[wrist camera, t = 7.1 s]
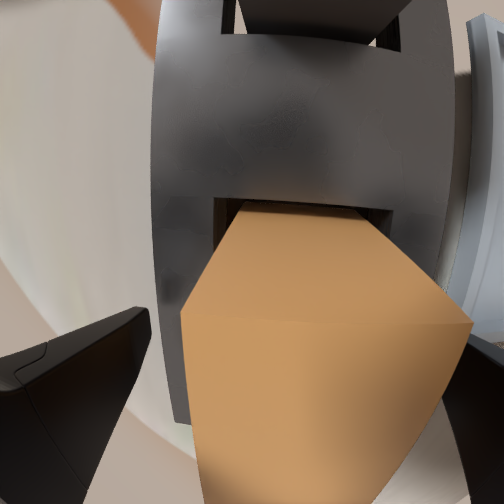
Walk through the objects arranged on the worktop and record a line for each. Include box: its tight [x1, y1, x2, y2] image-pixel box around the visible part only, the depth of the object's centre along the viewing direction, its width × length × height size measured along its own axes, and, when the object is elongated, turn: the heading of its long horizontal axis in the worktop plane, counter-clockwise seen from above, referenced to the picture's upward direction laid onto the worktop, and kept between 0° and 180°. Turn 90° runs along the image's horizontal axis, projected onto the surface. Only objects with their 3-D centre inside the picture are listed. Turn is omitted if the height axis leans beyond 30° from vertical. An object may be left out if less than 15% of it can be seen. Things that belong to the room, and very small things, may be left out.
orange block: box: [180, 201, 474, 504], centre depth 8 cm, size 6×4×8 cm, turn 177°
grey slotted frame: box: [151, 0, 455, 425], centre depth 9 cm, size 24×9×2 cm, turn 178°
